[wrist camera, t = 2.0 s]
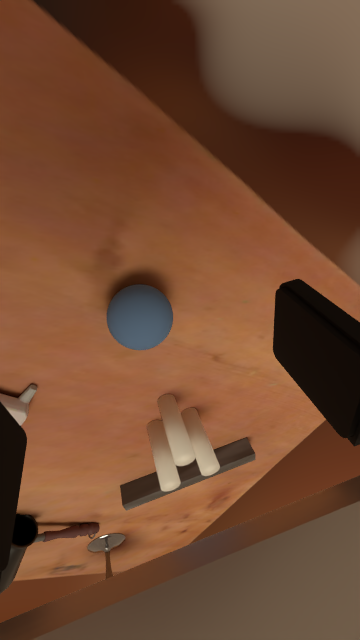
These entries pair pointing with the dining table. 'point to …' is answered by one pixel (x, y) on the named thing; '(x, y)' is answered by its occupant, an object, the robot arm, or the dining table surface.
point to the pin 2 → (200, 442)
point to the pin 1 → (163, 456)
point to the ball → (139, 317)
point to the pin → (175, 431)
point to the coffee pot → (28, 534)
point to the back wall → (185, 474)
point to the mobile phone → (19, 404)
